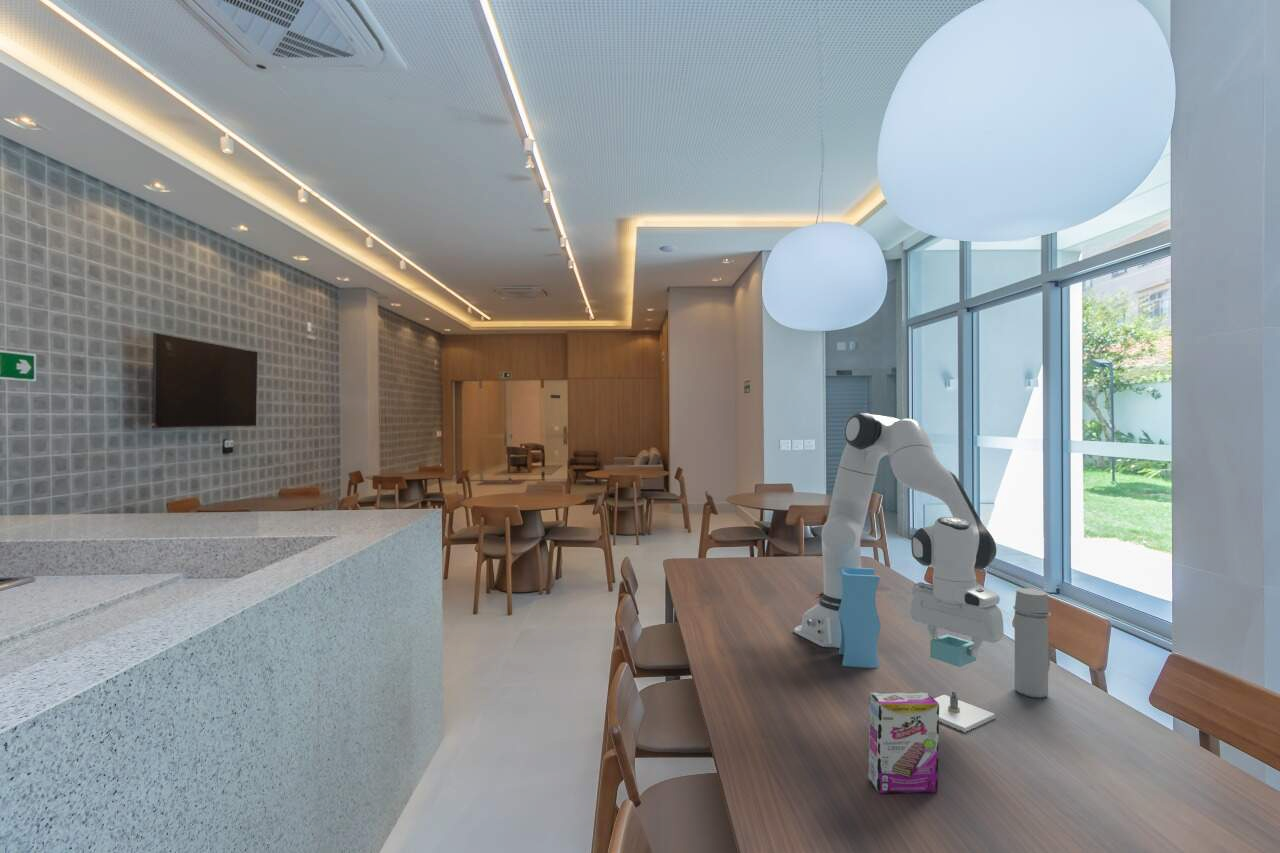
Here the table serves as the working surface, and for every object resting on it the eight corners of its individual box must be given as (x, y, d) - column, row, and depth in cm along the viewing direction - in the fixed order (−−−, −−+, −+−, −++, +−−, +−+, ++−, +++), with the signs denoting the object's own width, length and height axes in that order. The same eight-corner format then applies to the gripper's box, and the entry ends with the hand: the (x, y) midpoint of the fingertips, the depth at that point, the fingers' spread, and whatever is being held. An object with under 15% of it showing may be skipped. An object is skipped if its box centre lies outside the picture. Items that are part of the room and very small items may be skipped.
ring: (930, 657, 142) (930, 639, 142) (947, 651, 146) (947, 634, 146) (959, 667, 136) (959, 648, 136) (976, 660, 140) (976, 642, 140)
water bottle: (1033, 701, 148) (1033, 597, 148) (1005, 688, 156) (1005, 588, 155) (1063, 697, 150) (1063, 594, 150) (1034, 683, 158) (1034, 586, 158)
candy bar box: (878, 795, 110) (878, 703, 110) (867, 779, 115) (867, 691, 115) (940, 794, 111) (940, 702, 111) (926, 778, 116) (926, 690, 116)
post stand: (914, 711, 143) (914, 688, 143) (944, 698, 150) (944, 677, 150) (965, 732, 133) (965, 708, 133) (994, 718, 139) (994, 695, 139)
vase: (880, 668, 168) (880, 576, 168) (842, 665, 170) (842, 574, 170) (874, 655, 178) (874, 568, 178) (838, 653, 180) (838, 566, 180)
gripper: (904, 582, 148) (905, 639, 148) (991, 602, 131) (992, 667, 131) (920, 578, 152) (920, 635, 152) (1007, 598, 134) (1007, 661, 134)
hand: (954, 650), depth 141 cm, fingers closed on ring, 7 cm apart
